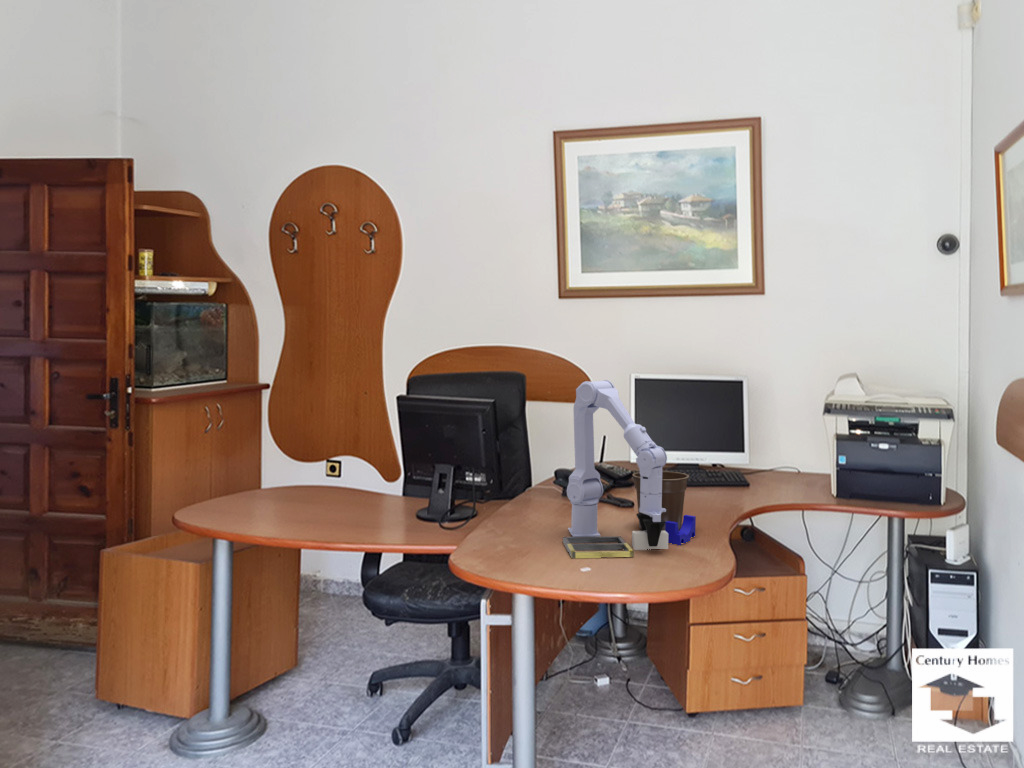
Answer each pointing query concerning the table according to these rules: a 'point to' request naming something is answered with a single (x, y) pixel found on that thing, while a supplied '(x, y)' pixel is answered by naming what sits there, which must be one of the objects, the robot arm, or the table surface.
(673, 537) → the cable clip
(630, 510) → the table surface
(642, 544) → the white banded pillar
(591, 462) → the robot arm
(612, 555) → the rack
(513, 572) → the table surface
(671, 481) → the plant pot
